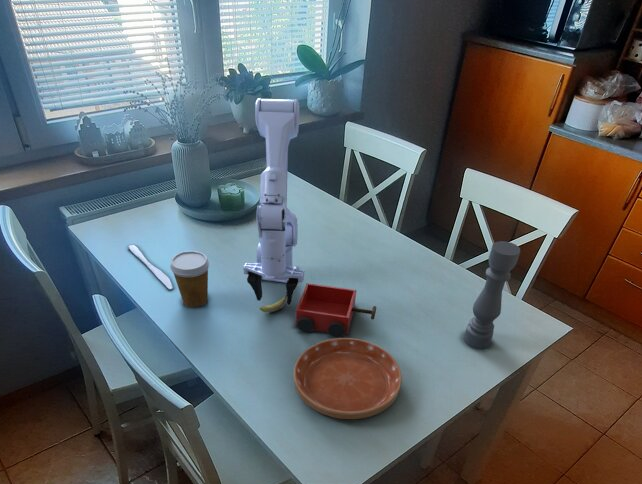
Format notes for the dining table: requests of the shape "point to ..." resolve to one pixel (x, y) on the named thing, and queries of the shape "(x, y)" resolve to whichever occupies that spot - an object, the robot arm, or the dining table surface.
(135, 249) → the butter knife
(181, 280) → the disposable coffee cup
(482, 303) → the candle holder
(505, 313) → the dining table surface
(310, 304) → the cart
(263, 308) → the banana
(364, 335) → the dining table surface
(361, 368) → the saucer
